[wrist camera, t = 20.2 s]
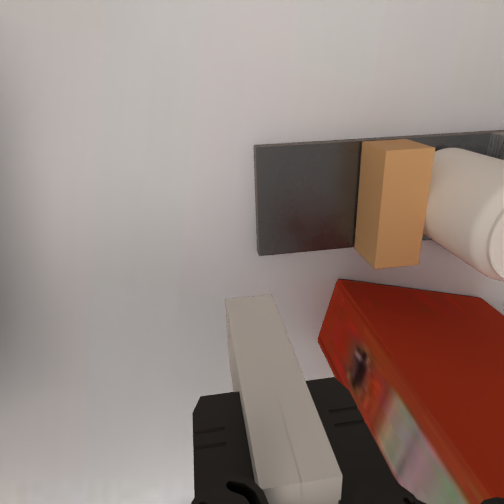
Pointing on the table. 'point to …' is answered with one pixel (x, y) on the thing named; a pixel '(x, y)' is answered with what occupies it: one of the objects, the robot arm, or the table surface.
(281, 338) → the robot arm
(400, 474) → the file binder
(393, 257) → the block
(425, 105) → the table surface
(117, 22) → the table surface
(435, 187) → the beverage can
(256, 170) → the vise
